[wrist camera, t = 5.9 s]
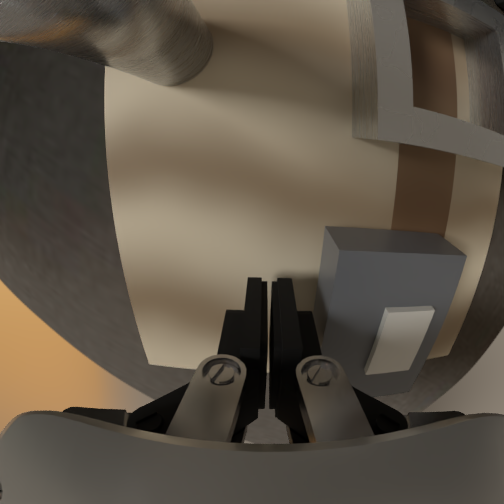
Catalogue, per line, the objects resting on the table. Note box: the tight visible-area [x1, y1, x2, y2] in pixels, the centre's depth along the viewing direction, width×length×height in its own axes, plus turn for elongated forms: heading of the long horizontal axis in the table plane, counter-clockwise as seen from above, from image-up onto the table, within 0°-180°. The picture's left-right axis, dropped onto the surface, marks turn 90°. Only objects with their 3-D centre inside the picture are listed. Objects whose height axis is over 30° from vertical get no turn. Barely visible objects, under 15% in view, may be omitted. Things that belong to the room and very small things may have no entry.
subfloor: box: [105, 0, 503, 372], centre depth 11 cm, size 19×18×1 cm
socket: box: [346, 0, 504, 167], centre depth 7 cm, size 7×7×2 cm
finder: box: [313, 226, 467, 397], centre depth 10 cm, size 7×5×3 cm
